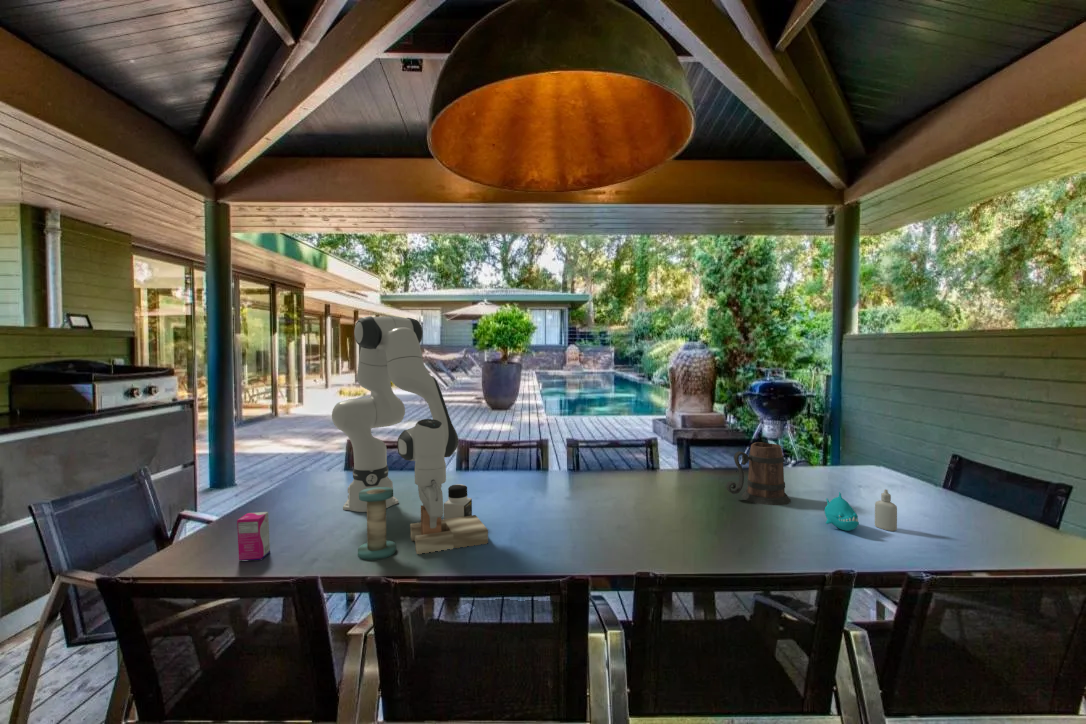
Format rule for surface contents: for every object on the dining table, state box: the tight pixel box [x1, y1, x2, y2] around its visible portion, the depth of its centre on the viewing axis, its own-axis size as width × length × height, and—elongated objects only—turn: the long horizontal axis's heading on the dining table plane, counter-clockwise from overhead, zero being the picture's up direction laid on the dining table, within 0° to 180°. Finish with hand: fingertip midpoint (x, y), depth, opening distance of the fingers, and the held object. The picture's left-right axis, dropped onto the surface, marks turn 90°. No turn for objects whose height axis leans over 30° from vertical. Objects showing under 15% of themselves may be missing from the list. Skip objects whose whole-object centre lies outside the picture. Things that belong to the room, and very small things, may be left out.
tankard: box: [725, 441, 792, 506], centre depth 185 cm, size 24×17×20 cm
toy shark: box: [824, 491, 860, 532], centre depth 156 cm, size 10×18×11 cm, turn 174°
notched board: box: [409, 514, 489, 555], centre depth 146 cm, size 14×20×4 cm
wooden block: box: [420, 504, 442, 535], centre depth 144 cm, size 5×5×9 cm
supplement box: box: [236, 511, 271, 561], centre depth 135 cm, size 6×6×12 cm
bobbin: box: [357, 487, 397, 561], centre depth 138 cm, size 10×10×17 cm
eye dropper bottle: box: [874, 488, 898, 532], centre depth 153 cm, size 4×6×12 cm
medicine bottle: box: [443, 483, 473, 519], centre depth 162 cm, size 7×7×12 cm
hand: (430, 523), depth 144 cm, fingers closed on wooden block, 5 cm apart
